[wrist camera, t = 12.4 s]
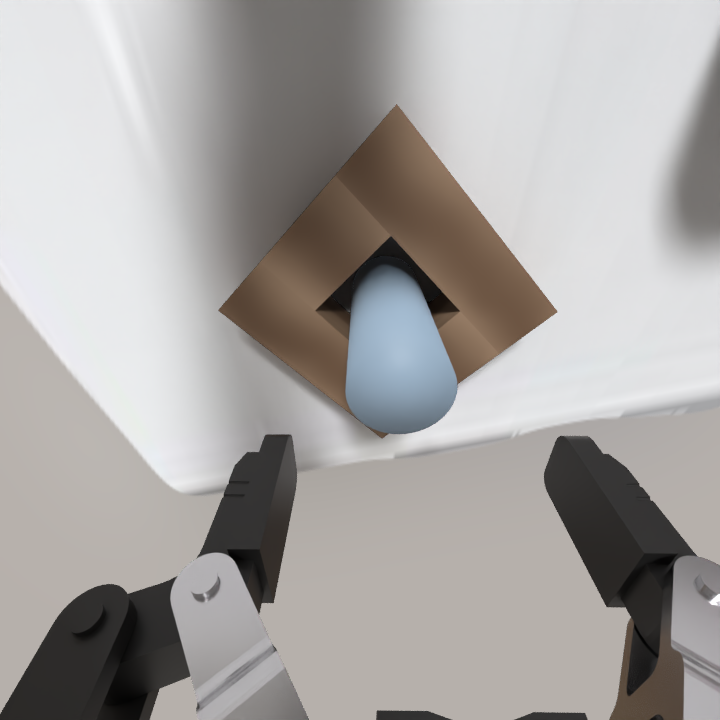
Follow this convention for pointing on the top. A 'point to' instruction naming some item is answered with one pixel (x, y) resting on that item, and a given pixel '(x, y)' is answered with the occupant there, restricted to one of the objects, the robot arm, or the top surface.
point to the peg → (395, 352)
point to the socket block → (362, 238)
